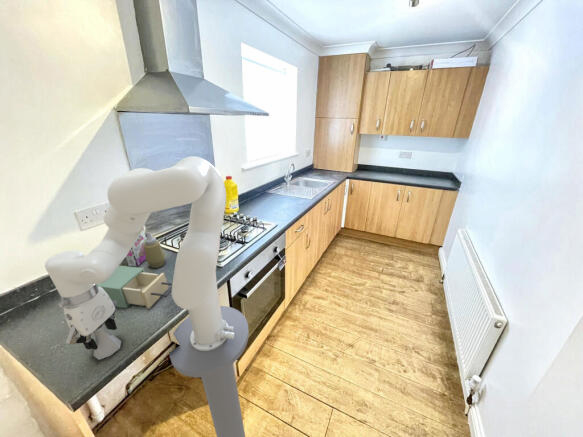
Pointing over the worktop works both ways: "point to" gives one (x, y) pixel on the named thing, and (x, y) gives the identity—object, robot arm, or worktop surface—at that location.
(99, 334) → the flask
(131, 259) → the candy bar box
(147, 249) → the squeeze bottle
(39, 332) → the worktop surface
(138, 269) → the cabinet
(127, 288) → the drawer
